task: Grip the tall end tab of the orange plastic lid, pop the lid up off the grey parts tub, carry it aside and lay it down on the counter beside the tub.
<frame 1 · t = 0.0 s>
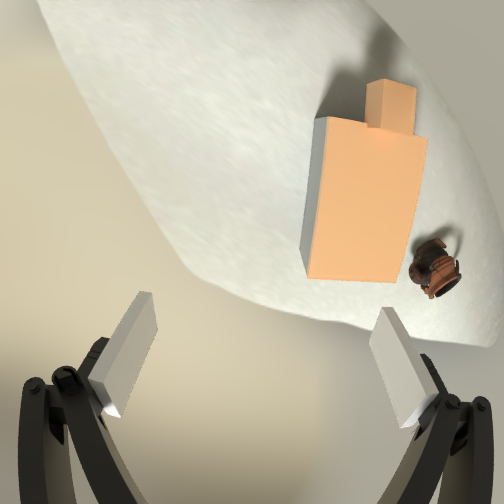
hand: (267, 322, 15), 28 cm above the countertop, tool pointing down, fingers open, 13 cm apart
tub: (349, 191, 40), on the countertop
lid: (367, 205, 32), point 8 cm above the countertop, touching tub
pottery mug: (425, 262, 44), on the countertop
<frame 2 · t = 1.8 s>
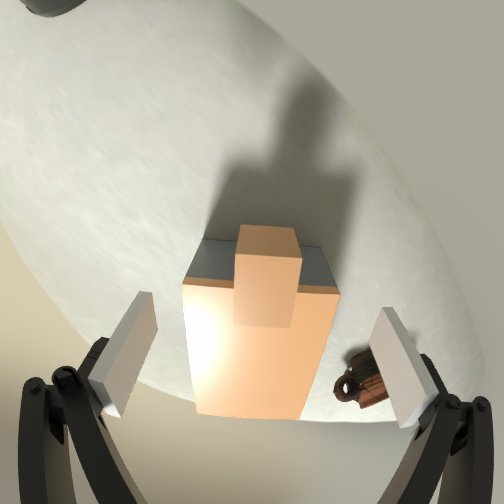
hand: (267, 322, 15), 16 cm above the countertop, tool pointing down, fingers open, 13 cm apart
tub: (255, 315, 35), on the countertop
lid: (253, 362, 28), point 8 cm above the countertop, touching tub
pottery mug: (363, 366, 40), on the countertop
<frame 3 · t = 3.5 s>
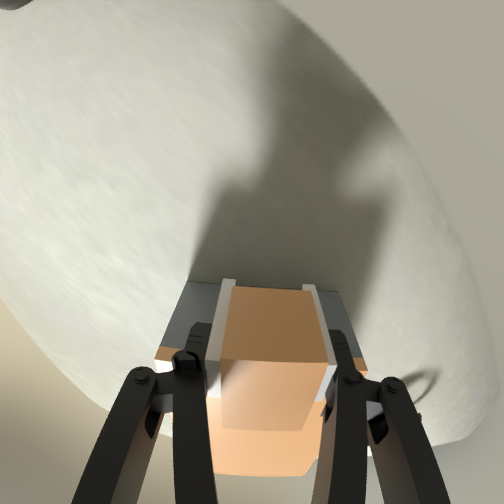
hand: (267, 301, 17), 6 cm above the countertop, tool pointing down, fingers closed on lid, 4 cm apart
tub: (255, 366, 28), on the countertop
lid: (252, 431, 21), point 8 cm above the countertop, touching gripper, tub
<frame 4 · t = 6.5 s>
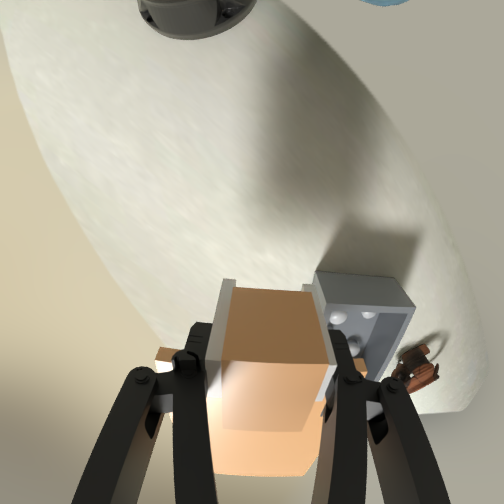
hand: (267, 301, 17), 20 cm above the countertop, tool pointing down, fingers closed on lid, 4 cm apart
tub: (340, 328, 43), on the countertop
lid: (252, 431, 21), point 22 cm above the countertop, touching gripper
pottery mug: (408, 361, 47), on the countertop
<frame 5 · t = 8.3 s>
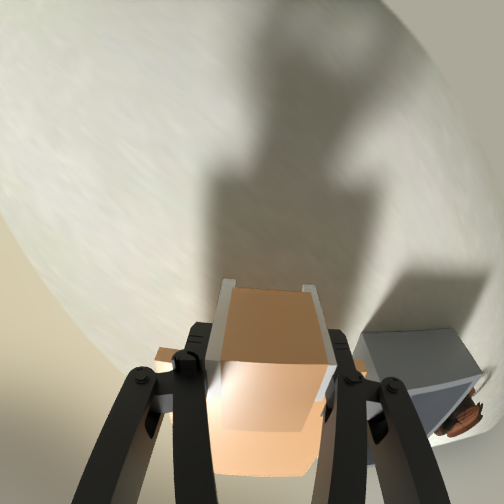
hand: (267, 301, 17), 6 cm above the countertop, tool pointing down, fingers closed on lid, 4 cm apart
tub: (382, 387, 30), on the countertop
lid: (252, 431, 21), point 9 cm above the countertop, touching gripper
pottery mug: (450, 401, 34), on the countertop
when the fingers open (1 cm above the countertop, at t = 9.6 s): lid drops 3 cm, on the countertop.
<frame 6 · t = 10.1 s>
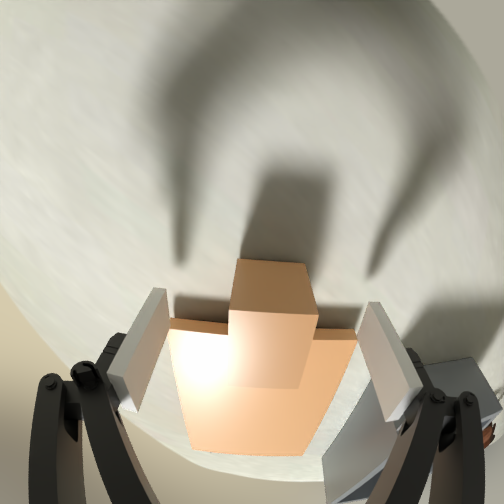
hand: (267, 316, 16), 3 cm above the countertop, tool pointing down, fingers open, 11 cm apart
tub: (392, 419, 26), on the countertop
lid: (253, 405, 23), on the countertop
pottery mug: (462, 421, 29), on the countertop
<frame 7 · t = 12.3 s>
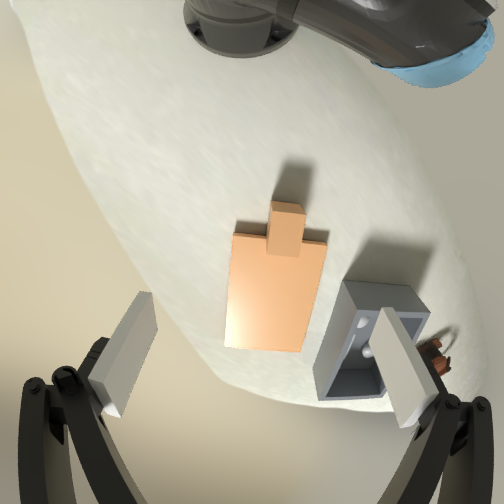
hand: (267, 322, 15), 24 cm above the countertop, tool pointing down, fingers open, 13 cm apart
tub: (360, 331, 46), on the countertop
lid: (270, 298, 43), on the countertop
pottery mug: (422, 355, 50), on the countertop
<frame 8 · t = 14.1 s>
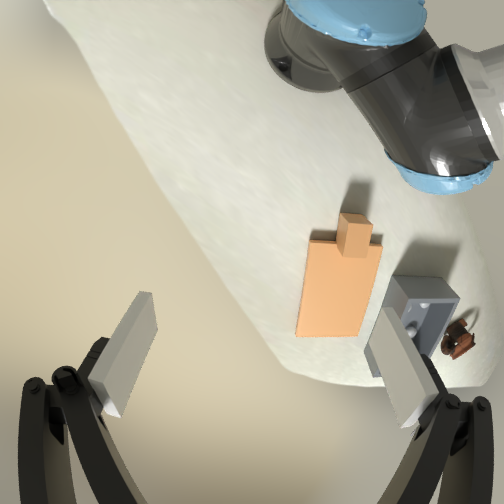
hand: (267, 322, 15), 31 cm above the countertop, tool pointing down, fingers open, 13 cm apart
tub: (402, 316, 53), on the countertop
lid: (336, 292, 50), on the countertop
pottery mug: (451, 333, 56), on the countertop
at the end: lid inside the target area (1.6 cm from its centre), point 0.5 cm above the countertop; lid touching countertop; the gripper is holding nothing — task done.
